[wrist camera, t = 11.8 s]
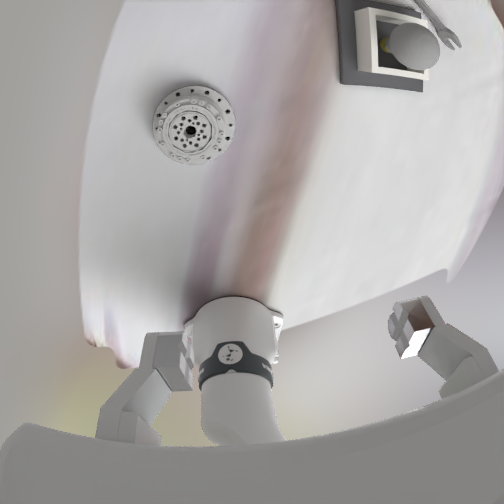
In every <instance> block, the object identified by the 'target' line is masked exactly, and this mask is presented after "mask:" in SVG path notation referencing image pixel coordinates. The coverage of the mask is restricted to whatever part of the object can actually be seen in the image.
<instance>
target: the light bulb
mask: <svg viewBox="0 0 504 504" xmlns="http://www.w3.org/2000/svg"><path fill="white" fill-rule="evenodd" d="M380 47H381V49H382V50H383V51H385V52H387V53H392V54H393V55H394V56H395V58H396V59H397V60H398V61H399V62H400V63H401V64H403V65H405V66H406V67H408V68H411V69H415V70H426V69H429V68H431V67H432V66H434V65H435V64H436V63H437V61H438V59H439V56H440V47H439V43H438V41H437V39H436V37H435V36H434V34H433V33H432V32H431V31H430V30H428V29H427V28H426V27H424V26H422V25H420V24H417V23H403V24H400V25H399V26H397V27H396V28H394V29H393V31H392V33H391V35H390V37H388V38H383V39H382V40H381V42H380Z"/></svg>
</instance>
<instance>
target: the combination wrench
mask: <svg viewBox="0 0 504 504" xmlns="http://www.w3.org/2000/svg"><path fill="white" fill-rule="evenodd" d="M414 1H415V2H416V3H417V4H418V5H419V7H420V8H421V9H422V10H423V11H424V12H425V14H426V15H427V16H428V17H429V19H430V20H431V21H432V22H433V24H434V25H435V27H436V29H437V33H438V36H439V38H440V39H441V40H442V42H443V43H444V44H445V45H446V46H448V47H449V48H450V49H452V50H455V49H454V47H453V46H452V44H451V43H450V42H449V40H448V39H447V38H450V39H452V41H453V42H454V43H455V44H456V45H457V46H458V47H459V48H461V47H462V46H461V43H460V41H459V39H458V37H457V36H456V35H455V34H454V33H453V32H452V31H451V30H450V29H448V28H446V27H445V26H444V25H443V24H442V23H441V22H440V20H439V19H438V18H437V16H436V15H435V14H434V13H433V11H432V10H431V9H430V8H429V6H428V5H427V4H426V3H425V2H424V0H414Z"/></svg>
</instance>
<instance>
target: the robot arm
mask: <svg viewBox="0 0 504 504" xmlns="http://www.w3.org/2000/svg"><path fill="white" fill-rule="evenodd" d="M393 311H394V312H393V313H392V314H391V315H390V317H389V320H388V329H389V333H390V336H391V338H393V339H394V340H395V341H396V345H395V347H396V349H397V352H398V354H399V356H400V359H402V358H406V357H410V356H414V355H417V354H418V356H419V357H420V358H421V359H422V360H423V361H424V362H425V363H427V364H428V365H429V366H430V367H431V368H432V369H433V370H435V371H436V372H437V373H438V374H439V375H440V376H441V377H442V378H444V379H445V380H446V382H445V383H444V384H443V385H442V386H441V388H440V390H439V393H440V395H441V398H442V399H441V400H438V401H436V402H433V403H431V404H428V405H426V406H423V407H421V408H418V409H415V410H412V411H409V412H406V413H404V414H400V415H397V416H394V417H391V418H388V419H384V420H381V421H378V422H374V423H371V424H367V425H363V426H360V427H355V428H351V429H347V430H343V431H339V432H334V433H329V434H324V435H319V436H314V437H308V438H301V439H296V440H288V441H287V440H286V438H285V437H284V435H283V434H282V432H281V430H280V428H279V425H278V422H277V418H276V414H275V409H274V404H273V398H272V391H271V389H272V386H273V373H272V369H271V365H272V364H277V363H278V355H279V352H278V349H277V342H278V338H279V335H280V331H281V328H282V324H283V315H282V314H280V313H277V312H274V311H270V310H269V309H267V308H266V307H265V306H264V305H262V304H261V303H259V302H257V301H255V300H252V299H249V298H244V297H225V298H220V299H216V300H213V301H211V302H209V303H207V304H205V305H204V306H203V307H202V308H201V309H200V310H199V311H198V312H197V314H196V316H195V317H194V318H193V319H191V320H190V321H188V322H187V323H186V324H185V325H184V330H185V331H183V332H153V333H147V334H146V336H145V339H144V344H143V349H142V355H141V360H140V365H139V368H138V369H135V370H134V371H133V372H132V373H131V374H130V375H129V377H128V378H127V379H126V380H125V381H124V382H123V383H122V384H121V386H120V387H119V388H118V389H117V390H116V391H115V392H114V393H113V395H112V396H111V397H110V398H109V399H108V400H107V401H106V402H105V404H104V405H103V406H102V407H101V408H100V414H99V419H98V424H97V430H96V436H95V438H92V437H86V436H81V435H76V434H71V433H67V432H63V431H58V430H54V429H50V428H47V427H43V426H39V425H36V424H32V423H24V424H23V425H21V426H20V427H19V428H18V429H17V430H15V431H14V432H13V433H12V434H11V435H10V436H9V437H8V438H7V439H6V441H5V442H4V443H3V445H2V448H1V450H0V504H504V369H502V370H501V371H498V369H497V367H496V365H495V363H494V361H493V359H492V357H491V355H490V354H489V352H488V350H487V348H485V347H484V346H482V345H481V344H479V343H478V342H476V341H475V340H473V339H472V338H470V337H469V336H467V335H465V334H464V333H462V332H461V331H459V330H458V329H456V328H455V327H453V326H452V325H450V324H448V323H447V324H445V322H444V321H443V319H442V317H441V316H440V314H439V312H438V311H437V309H436V307H435V306H434V304H433V302H432V301H431V299H430V298H429V297H428V296H422V297H418V298H412V299H408V300H404V301H400V302H396V303H395V304H394V306H393ZM187 334H188V336H189V337H190V338H191V343H189V342H188V336H187ZM194 362H195V364H196V365H197V366H198V367H199V375H198V382H199V389H200V390H201V392H202V393H201V427H202V430H203V432H204V434H205V435H206V437H207V438H208V439H209V440H210V441H212V442H213V443H215V444H217V445H219V446H216V447H180V446H179V447H178V446H161V435H160V434H159V433H158V432H156V431H155V430H154V429H153V428H152V427H151V424H152V423H153V421H154V420H155V418H156V417H157V415H158V414H159V412H160V411H161V409H162V407H163V406H164V405H165V403H166V401H167V400H168V399H169V397H170V395H171V394H172V391H192V390H193V377H194V376H193V374H192V372H191V369H192V368H193V366H194Z"/></svg>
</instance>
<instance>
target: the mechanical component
mask: <svg viewBox="0 0 504 504" xmlns="http://www.w3.org/2000/svg"><path fill="white" fill-rule="evenodd" d="M191 89H194V92H192V90H191ZM205 91H209V92H210V93H209V94H206V93H205ZM177 92H179V93H180V96H178V95H177ZM219 98H220V99H221V100H220V101H219V100H218V99H219ZM166 102H167V103H168V104H167V103H166ZM227 109H229V110H230V112H226V110H227ZM159 113H160V114H161V116H159ZM177 114H178V115H177ZM195 115H196V116H198V118H196V117H195ZM183 116H184V117H185V118H183ZM189 119H191V120H189ZM182 123H183V124H182ZM230 123H231V124H232V125H229V124H230ZM204 124H207V125H204ZM188 126H193V127H195V128H196V130H192V129H190V128H189V127H188ZM186 128H187V129H188V131H189V132H190V131H191V132H192V133H194V132H196V133H195V134H193V135H191V134H187V133H186ZM152 129H153V134H154V139H155V141H156V143H157V145H158V147H159V148H160V149H161V150H162V151H163V153H164V154H165V155H167V156H168V157H169V158H171V159H172V160H174V161H177V162H179V163H183V164H189V165H196V164H204V163H206V162H209V161H211V160H214V159H216V158H217V157H219V156H220V155H221V154H222V153H223V152H225V151H226V149H227V148H228V146H229V145H230V143H231V142H232V139H233V135H234V132H235V116H234V112H233V110H232V108H231V106H230V103H229V102H228V101H227V100H226V99H225V97H224V96H223V95H222V94H220V93H218V92H217V91H215V90H213V89H211V88H208V87H204V86H188V87H183V88H180V89H178V90H176V91H174V92H172V93H171V94H169V95H168V96H167V97H166V98H165V99H164V100H162V102H161V103H160V105H159V106H158V107H157V110H156V112H155V115H154V117H153V128H152ZM201 129H202V130H204V131H202V130H201ZM211 135H212V136H211ZM227 136H228V137H230V138H229V139H227V138H226V137H227ZM219 148H221V149H219ZM209 156H210V157H209Z"/></svg>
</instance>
